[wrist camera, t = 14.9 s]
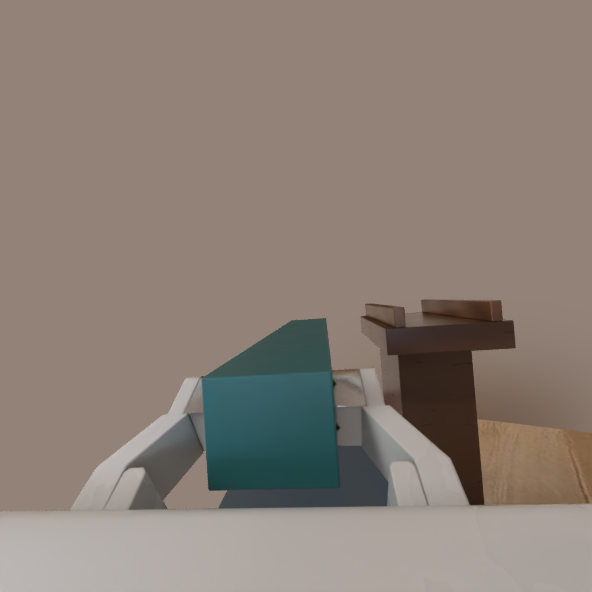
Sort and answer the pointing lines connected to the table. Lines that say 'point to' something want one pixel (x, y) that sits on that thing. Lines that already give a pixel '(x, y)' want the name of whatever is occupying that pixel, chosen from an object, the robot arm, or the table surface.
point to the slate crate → (352, 493)
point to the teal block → (273, 414)
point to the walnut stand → (439, 372)
